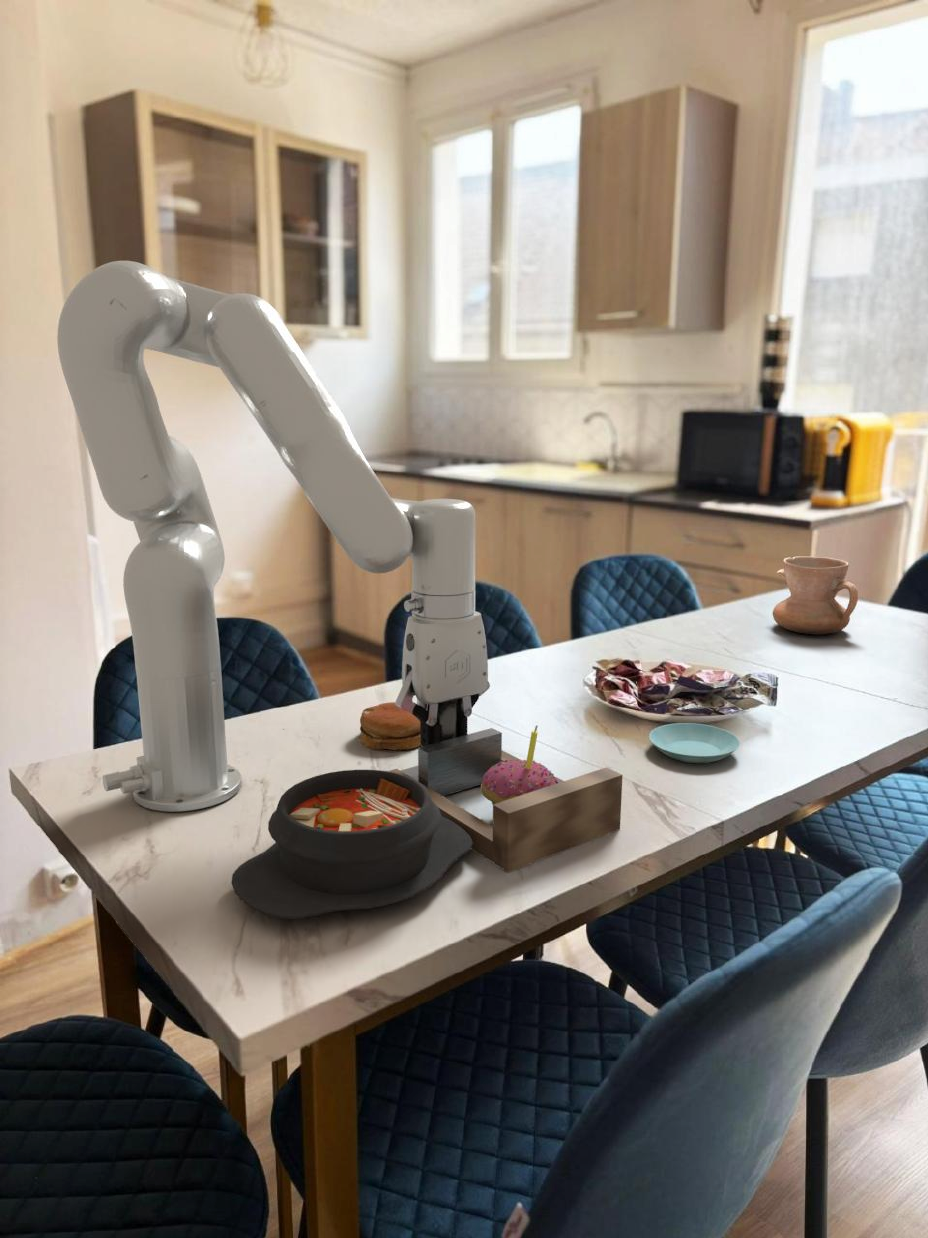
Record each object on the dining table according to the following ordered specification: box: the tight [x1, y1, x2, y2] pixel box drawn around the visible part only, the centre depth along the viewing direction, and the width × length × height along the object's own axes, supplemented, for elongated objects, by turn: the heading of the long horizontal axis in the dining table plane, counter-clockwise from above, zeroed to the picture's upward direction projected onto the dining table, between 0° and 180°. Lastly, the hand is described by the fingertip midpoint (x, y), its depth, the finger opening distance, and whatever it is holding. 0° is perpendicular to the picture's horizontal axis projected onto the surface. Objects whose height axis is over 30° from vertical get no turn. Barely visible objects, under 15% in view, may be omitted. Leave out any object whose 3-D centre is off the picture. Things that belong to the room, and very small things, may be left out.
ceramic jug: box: [772, 555, 859, 635], centre depth 184 cm, size 18×14×14 cm
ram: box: [400, 699, 503, 797], centre depth 113 cm, size 11×7×10 cm, turn 126°
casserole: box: [231, 769, 473, 920], centre depth 92 cm, size 25×19×8 cm
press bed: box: [386, 749, 623, 873], centre depth 107 cm, size 16×24×6 cm, turn 36°
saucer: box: [648, 722, 741, 764], centre depth 124 cm, size 12×12×2 cm
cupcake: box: [480, 724, 558, 805], centre depth 103 cm, size 9×8×12 cm
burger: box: [359, 701, 422, 751], centre depth 128 cm, size 10×9×5 cm
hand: (444, 747), depth 115 cm, fingers closed on ram, 3 cm apart
